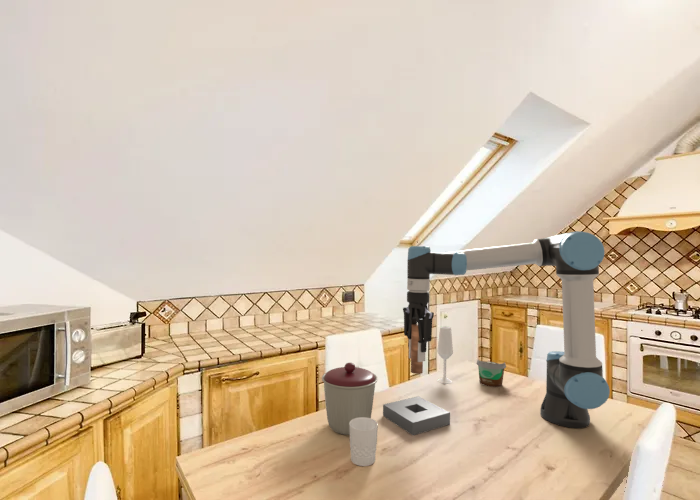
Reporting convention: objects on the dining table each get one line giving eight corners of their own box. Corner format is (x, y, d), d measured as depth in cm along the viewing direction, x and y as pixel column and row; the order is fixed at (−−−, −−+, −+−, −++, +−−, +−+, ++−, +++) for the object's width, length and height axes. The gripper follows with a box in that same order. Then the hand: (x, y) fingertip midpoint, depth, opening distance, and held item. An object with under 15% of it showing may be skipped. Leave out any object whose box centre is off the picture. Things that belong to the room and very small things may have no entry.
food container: (473, 384, 166) (474, 361, 166) (476, 380, 171) (476, 358, 171) (504, 390, 160) (504, 366, 160) (505, 385, 165) (506, 362, 165)
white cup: (349, 451, 109) (349, 416, 109) (376, 452, 109) (377, 417, 109) (348, 467, 101) (348, 429, 101) (377, 468, 101) (378, 430, 101)
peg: (425, 372, 130) (425, 325, 130) (415, 374, 128) (416, 326, 127) (417, 369, 133) (418, 323, 133) (408, 371, 131) (409, 324, 131)
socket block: (449, 424, 127) (450, 412, 127) (412, 435, 119) (412, 422, 119) (418, 406, 141) (418, 396, 141) (382, 415, 133) (383, 404, 133)
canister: (329, 413, 134) (330, 353, 134) (380, 418, 131) (381, 357, 131) (313, 438, 117) (315, 369, 117) (372, 445, 113) (373, 374, 113)
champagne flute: (446, 377, 174) (447, 325, 174) (455, 382, 168) (456, 328, 168) (434, 379, 172) (434, 326, 172) (442, 384, 165) (443, 329, 165)
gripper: (394, 289, 136) (393, 354, 136) (426, 294, 121) (425, 368, 121) (410, 288, 139) (409, 352, 139) (444, 293, 125) (442, 364, 125)
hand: (416, 359), depth 130 cm, fingers closed on peg, 4 cm apart
